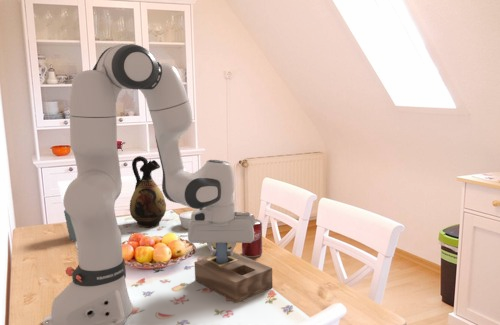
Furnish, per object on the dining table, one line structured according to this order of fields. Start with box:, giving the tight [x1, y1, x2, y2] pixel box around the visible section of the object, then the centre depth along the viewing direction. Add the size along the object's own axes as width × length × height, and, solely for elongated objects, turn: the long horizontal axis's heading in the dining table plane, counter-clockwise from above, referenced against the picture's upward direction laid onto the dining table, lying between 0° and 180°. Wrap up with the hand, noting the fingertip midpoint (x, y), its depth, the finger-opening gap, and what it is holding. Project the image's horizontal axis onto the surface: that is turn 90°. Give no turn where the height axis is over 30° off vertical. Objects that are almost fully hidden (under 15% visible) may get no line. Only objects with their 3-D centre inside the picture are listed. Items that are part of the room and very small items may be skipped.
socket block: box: [194, 251, 273, 303], centre depth 137 cm, size 14×20×6 cm
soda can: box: [241, 218, 263, 258], centre depth 160 cm, size 7×7×12 cm
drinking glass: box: [63, 209, 77, 242], centre depth 182 cm, size 10×10×12 cm
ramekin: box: [179, 210, 194, 230], centre depth 194 cm, size 11×11×5 cm
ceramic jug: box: [129, 155, 167, 229], centre depth 195 cm, size 17×15×30 cm
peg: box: [215, 242, 229, 265], centre depth 140 cm, size 4×4×10 cm
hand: (222, 255), depth 140 cm, fingers closed on peg, 4 cm apart
